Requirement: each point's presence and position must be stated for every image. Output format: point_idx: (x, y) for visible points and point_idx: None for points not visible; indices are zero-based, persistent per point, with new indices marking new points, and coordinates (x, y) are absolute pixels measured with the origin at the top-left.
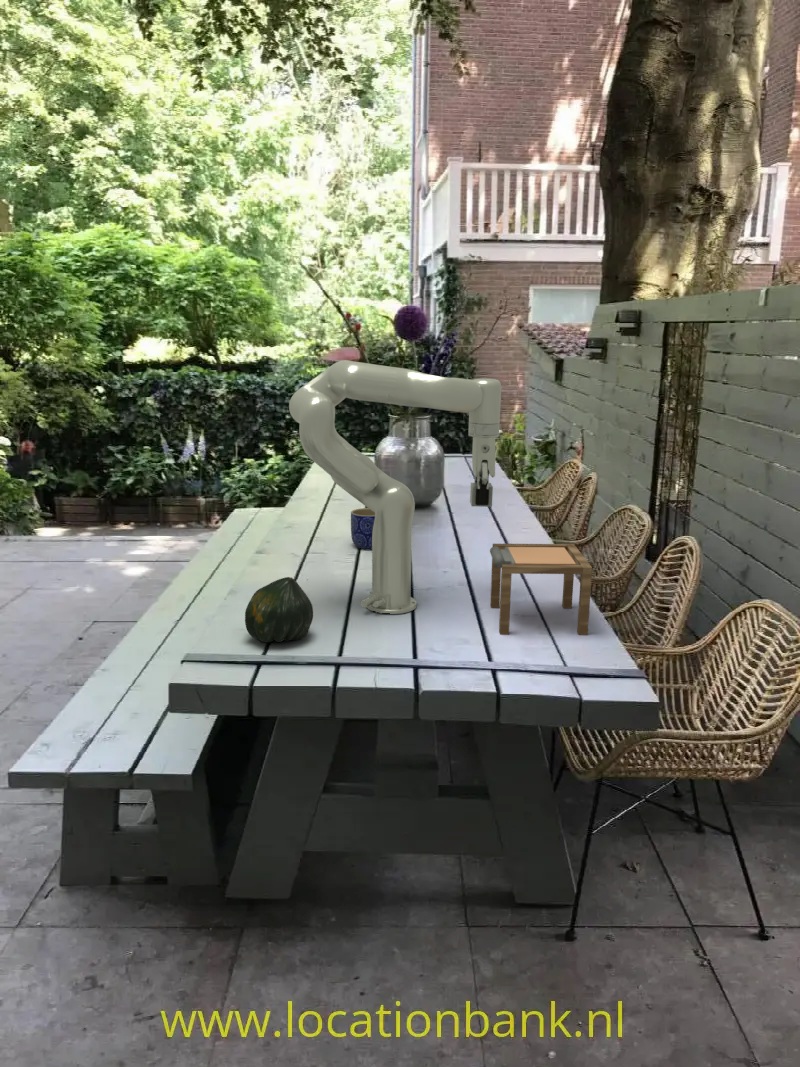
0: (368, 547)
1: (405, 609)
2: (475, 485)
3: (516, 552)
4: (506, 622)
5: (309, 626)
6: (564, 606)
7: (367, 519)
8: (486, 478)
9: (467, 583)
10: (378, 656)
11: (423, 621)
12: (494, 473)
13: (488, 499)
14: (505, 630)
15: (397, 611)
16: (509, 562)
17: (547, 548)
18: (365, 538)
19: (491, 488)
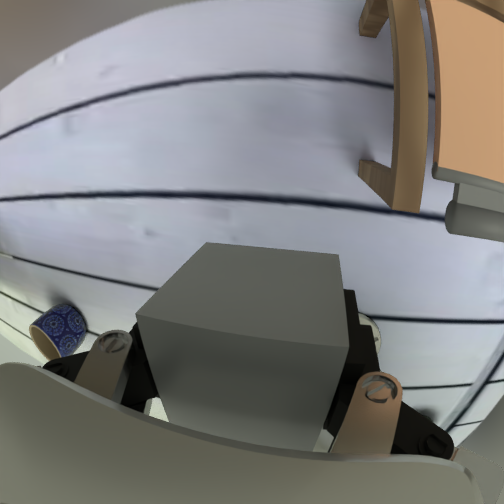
0: (84, 325)
1: (378, 332)
2: (272, 436)
3: (494, 160)
4: None
5: (431, 421)
6: (376, 35)
7: (63, 351)
8: (498, 480)
9: (213, 199)
10: (489, 355)
11: (416, 306)
12: (481, 497)
13: (357, 309)
14: None
15: (380, 341)
16: None
17: (450, 40)
18: (80, 337)
19: (345, 345)
